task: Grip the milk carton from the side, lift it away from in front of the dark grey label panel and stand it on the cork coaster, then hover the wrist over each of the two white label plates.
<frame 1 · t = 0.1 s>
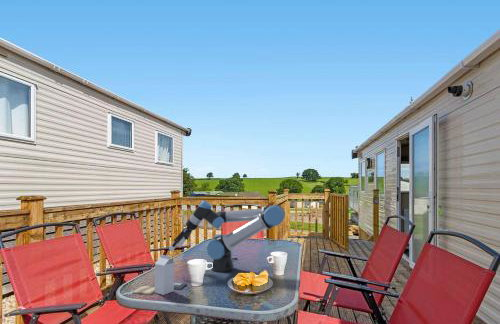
hand: (174, 248, 203), 15 cm above the table, tool tilted 35°, fingers open, 13 cm apart
milk carton: (163, 292, 164), on the table
coaster: (146, 290, 165), on the table
label panel: (170, 285, 174), on the table
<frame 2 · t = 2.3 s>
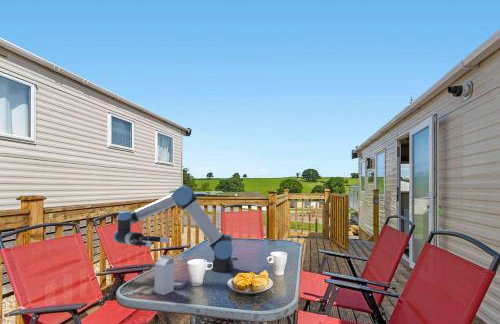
hand: (160, 242, 177), 24 cm above the table, tool horizontal, fingers open, 13 cm apart
nothing on the table moved.
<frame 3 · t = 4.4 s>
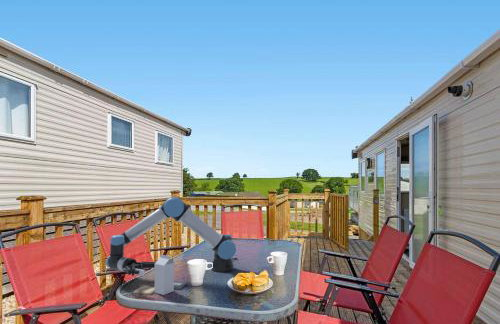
hand: (154, 270, 168), 10 cm above the table, tool horizontal, fingers open, 13 cm apart
nothing on the table moved.
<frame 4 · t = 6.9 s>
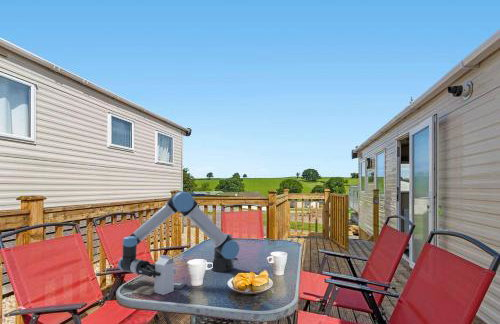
hand: (171, 273, 162), 11 cm above the table, tool horizontal, fingers closed on milk carton, 7 cm apart
milk carton: (163, 292, 164), on the table, touching gripper
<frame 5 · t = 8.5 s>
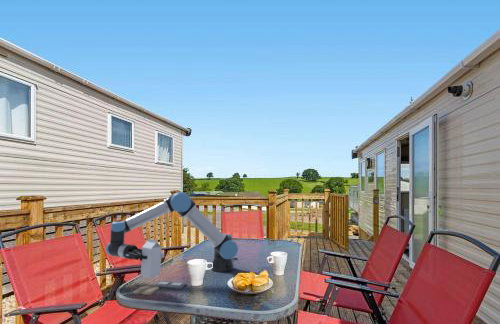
hand: (158, 256, 164), 19 cm above the table, tool horizontal, fingers closed on milk carton, 7 cm apart
milk carton: (150, 275, 165), point 8 cm above the table, touching gripper
when the fingers open (13 cm above the table, at t = 10.3 s): milk carton drops 1 cm, resting on coaster.
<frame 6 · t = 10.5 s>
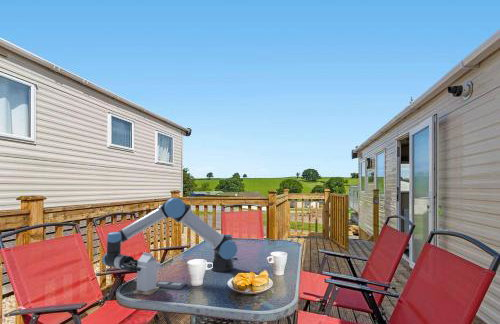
hand: (153, 267, 164), 13 cm above the table, tool horizontal, fingers open, 9 cm apart
milk carton: (146, 289, 166), point 1 cm above the table, touching coaster
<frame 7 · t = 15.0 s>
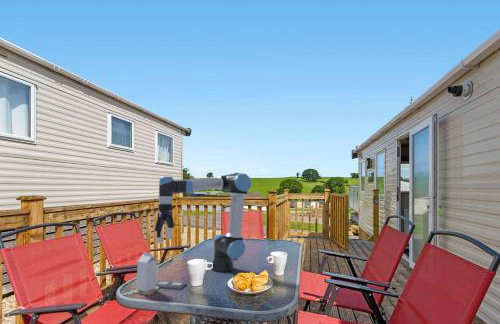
hand: (164, 241, 176), 25 cm above the table, tool pointing down, fingers open, 13 cm apart
nothing on the table moved.
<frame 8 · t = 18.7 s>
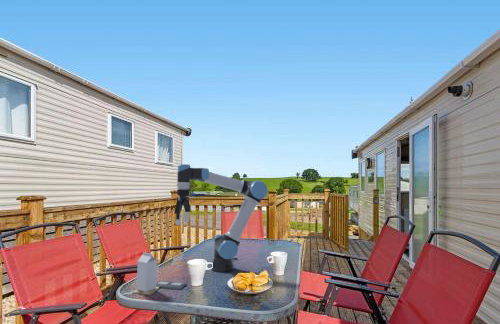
hand: (182, 223, 192), 33 cm above the table, tool pointing down, fingers open, 13 cm apart
nothing on the table moved.
at the end: milk carton 0.0 cm from the coaster (horizontally); milk carton tilted 0°; the gripper is holding nothing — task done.
